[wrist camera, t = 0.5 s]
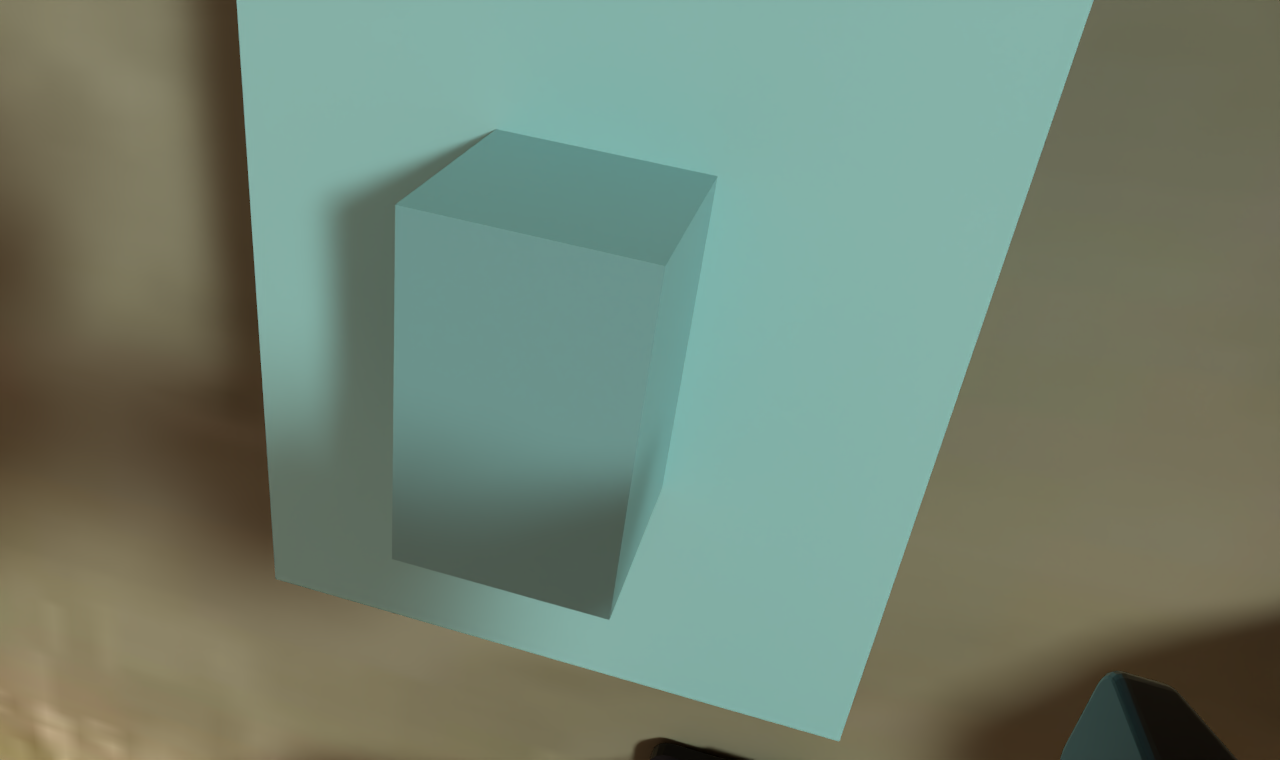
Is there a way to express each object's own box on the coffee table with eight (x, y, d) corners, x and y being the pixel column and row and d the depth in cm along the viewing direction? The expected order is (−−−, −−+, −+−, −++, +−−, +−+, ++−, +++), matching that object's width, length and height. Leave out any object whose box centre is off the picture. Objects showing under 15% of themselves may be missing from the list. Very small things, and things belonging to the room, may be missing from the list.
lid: (849, 639, 20) (822, 902, 15) (342, 500, 21) (172, 699, 16) (1107, -152, 13) (1206, -122, 8) (324, -274, 14) (23, -311, 9)
